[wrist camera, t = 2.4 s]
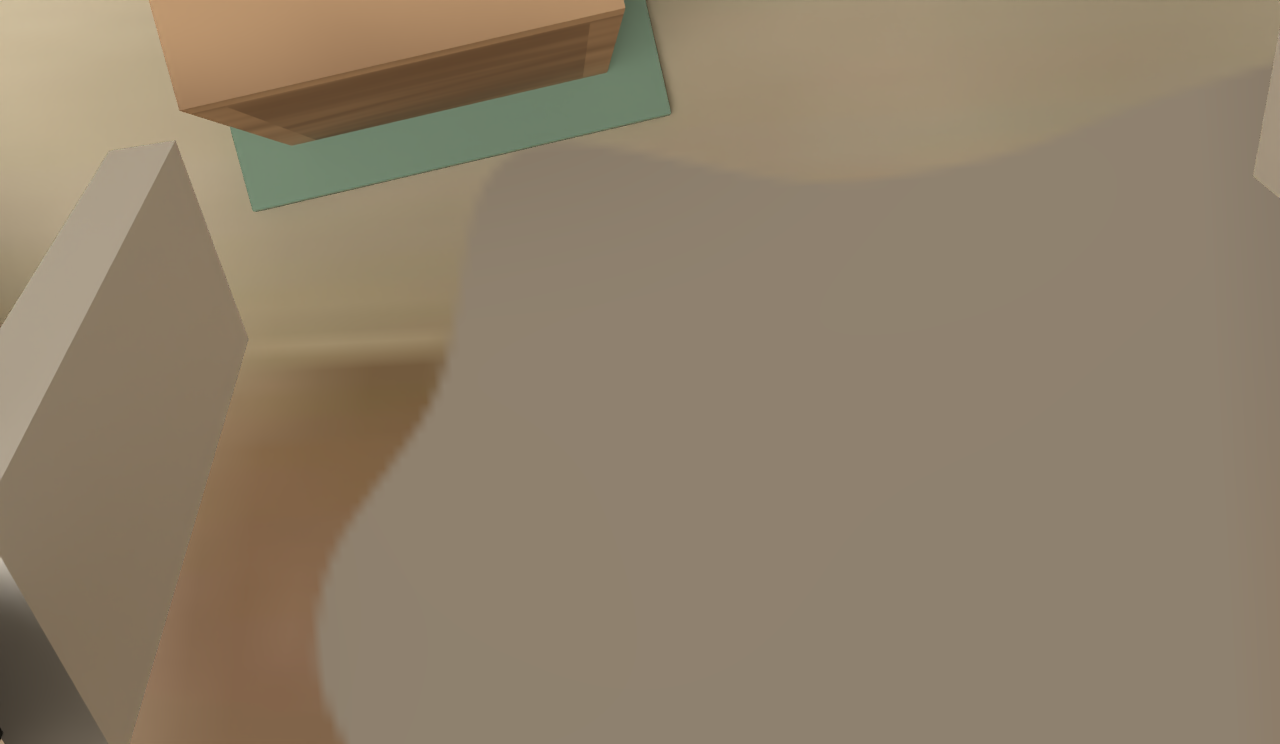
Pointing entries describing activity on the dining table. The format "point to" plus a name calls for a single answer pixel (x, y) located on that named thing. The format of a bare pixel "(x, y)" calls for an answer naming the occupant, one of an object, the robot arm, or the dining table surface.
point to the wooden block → (371, 57)
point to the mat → (463, 128)
